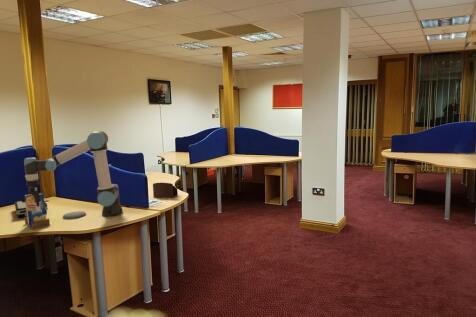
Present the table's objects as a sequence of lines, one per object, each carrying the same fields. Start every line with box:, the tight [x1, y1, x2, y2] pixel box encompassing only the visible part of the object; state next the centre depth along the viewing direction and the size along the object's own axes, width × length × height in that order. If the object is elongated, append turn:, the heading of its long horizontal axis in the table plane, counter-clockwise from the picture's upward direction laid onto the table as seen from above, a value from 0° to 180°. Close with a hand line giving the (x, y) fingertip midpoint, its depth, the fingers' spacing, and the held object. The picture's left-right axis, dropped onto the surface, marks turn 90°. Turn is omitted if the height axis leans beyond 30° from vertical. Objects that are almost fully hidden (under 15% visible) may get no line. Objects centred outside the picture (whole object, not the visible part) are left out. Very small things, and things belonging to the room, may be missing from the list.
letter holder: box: [152, 182, 179, 199], centre depth 321 cm, size 10×20×14 cm, turn 76°
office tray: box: [14, 200, 49, 219], centre depth 285 cm, size 21×32×8 cm, turn 34°
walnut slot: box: [23, 217, 51, 230], centre depth 251 cm, size 18×11×5 cm, turn 45°
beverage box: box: [24, 192, 47, 229], centre depth 250 cm, size 7×11×22 cm, turn 128°
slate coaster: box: [62, 210, 87, 220], centre depth 270 cm, size 16×16×1 cm
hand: (35, 209), depth 250 cm, fingers open, 13 cm apart
